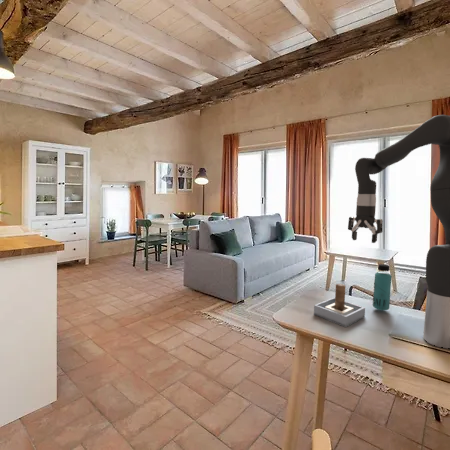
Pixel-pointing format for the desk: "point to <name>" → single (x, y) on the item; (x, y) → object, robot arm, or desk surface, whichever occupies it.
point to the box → (339, 312)
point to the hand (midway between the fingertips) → (363, 241)
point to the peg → (340, 297)
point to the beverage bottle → (382, 288)
